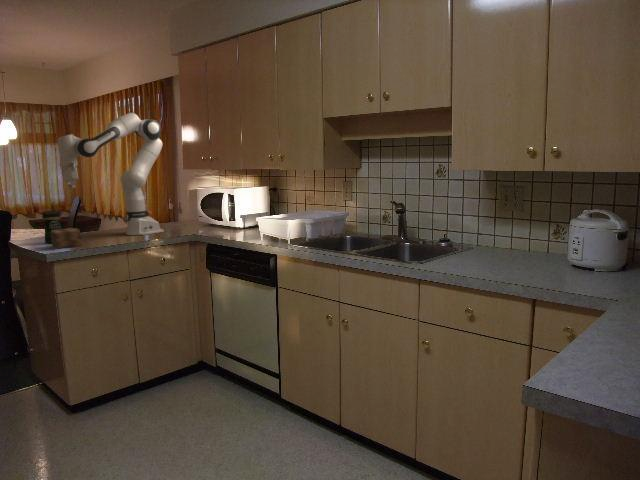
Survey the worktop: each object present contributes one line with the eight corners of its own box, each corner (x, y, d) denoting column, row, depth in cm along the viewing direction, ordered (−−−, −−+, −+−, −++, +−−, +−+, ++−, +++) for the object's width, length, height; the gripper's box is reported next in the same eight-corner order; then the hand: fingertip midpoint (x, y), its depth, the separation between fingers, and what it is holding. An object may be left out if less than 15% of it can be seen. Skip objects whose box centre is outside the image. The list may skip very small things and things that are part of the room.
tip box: (76, 243, 286) (74, 227, 284) (81, 246, 276) (79, 229, 275) (52, 246, 278) (50, 230, 277) (57, 249, 269) (55, 232, 267)
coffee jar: (46, 244, 286) (42, 212, 283) (44, 242, 293) (40, 211, 290) (65, 242, 292) (61, 210, 289) (62, 240, 298) (58, 209, 295)
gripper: (79, 162, 280) (82, 187, 282) (70, 163, 296) (73, 186, 298) (67, 163, 276) (70, 188, 278) (58, 163, 292) (61, 187, 294)
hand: (71, 187), depth 288 cm, fingers open, 8 cm apart
